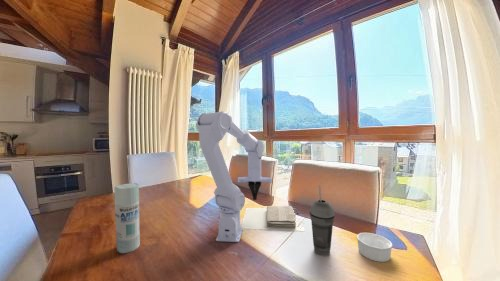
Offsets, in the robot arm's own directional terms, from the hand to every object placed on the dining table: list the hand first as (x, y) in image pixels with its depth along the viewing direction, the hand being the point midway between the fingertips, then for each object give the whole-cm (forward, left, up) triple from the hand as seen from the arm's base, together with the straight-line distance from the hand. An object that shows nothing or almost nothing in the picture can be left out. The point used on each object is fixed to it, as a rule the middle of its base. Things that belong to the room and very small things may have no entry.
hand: (254, 199), depth 83 cm
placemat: (+1, -7, -8) cm, 11 cm away
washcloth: (0, -11, -8) cm, 14 cm away
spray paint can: (-25, +39, -8) cm, 47 cm away
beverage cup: (-22, -22, -8) cm, 32 cm away
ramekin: (-22, -37, -8) cm, 44 cm away
